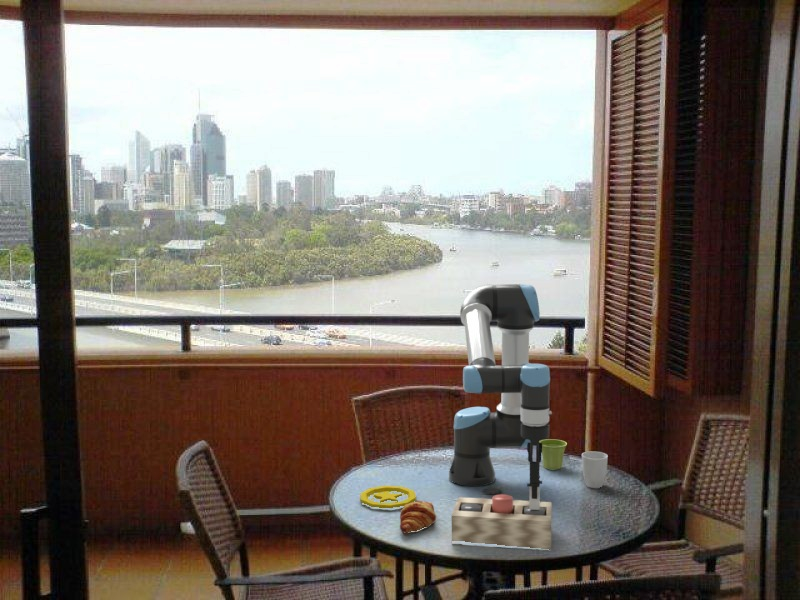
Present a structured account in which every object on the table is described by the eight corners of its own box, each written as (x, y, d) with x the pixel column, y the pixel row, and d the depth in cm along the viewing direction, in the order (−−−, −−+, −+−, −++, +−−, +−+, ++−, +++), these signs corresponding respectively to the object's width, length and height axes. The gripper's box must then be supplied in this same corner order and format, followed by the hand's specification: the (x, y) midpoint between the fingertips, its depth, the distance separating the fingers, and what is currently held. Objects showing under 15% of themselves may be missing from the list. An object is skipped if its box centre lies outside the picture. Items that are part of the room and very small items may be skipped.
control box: (451, 544, 218) (451, 515, 217) (457, 524, 232) (457, 497, 231) (550, 551, 214) (551, 521, 213) (551, 530, 227) (551, 502, 226)
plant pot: (538, 462, 286) (538, 438, 285) (565, 463, 285) (566, 439, 284) (539, 471, 277) (539, 446, 276) (567, 472, 276) (567, 447, 275)
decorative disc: (410, 513, 242) (410, 506, 242) (353, 509, 246) (352, 502, 246) (421, 493, 258) (421, 487, 258) (367, 490, 262) (367, 484, 262)
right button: (523, 530, 219) (523, 512, 218) (524, 522, 224) (524, 505, 223) (544, 531, 218) (544, 513, 217) (544, 524, 223) (545, 506, 222)
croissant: (421, 521, 244) (409, 496, 245) (450, 509, 241) (437, 484, 241) (395, 547, 224) (383, 520, 225) (426, 535, 221) (413, 508, 221)
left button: (460, 528, 222) (459, 510, 221) (462, 520, 227) (462, 502, 227) (480, 529, 221) (480, 511, 220) (482, 521, 226) (482, 504, 226)
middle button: (491, 519, 220) (491, 501, 219) (493, 511, 225) (493, 494, 225) (512, 520, 219) (512, 502, 218) (513, 512, 224) (513, 495, 224)
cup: (605, 481, 266) (605, 451, 265) (609, 490, 258) (609, 459, 257) (579, 481, 267) (580, 451, 266) (582, 489, 259) (583, 458, 258)
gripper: (549, 429, 210) (548, 518, 213) (549, 417, 223) (548, 500, 226) (519, 428, 212) (519, 516, 214) (521, 416, 225) (521, 499, 227)
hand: (534, 508), depth 220 cm, fingers closed
